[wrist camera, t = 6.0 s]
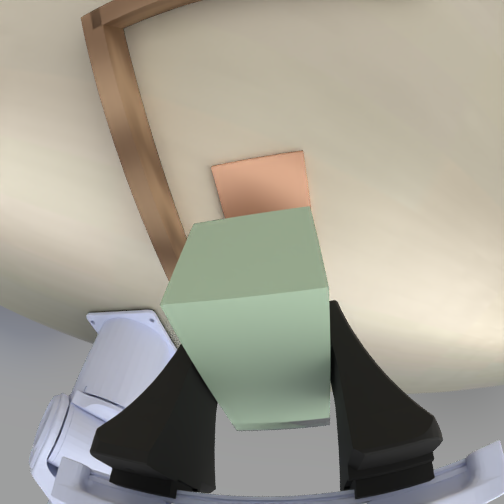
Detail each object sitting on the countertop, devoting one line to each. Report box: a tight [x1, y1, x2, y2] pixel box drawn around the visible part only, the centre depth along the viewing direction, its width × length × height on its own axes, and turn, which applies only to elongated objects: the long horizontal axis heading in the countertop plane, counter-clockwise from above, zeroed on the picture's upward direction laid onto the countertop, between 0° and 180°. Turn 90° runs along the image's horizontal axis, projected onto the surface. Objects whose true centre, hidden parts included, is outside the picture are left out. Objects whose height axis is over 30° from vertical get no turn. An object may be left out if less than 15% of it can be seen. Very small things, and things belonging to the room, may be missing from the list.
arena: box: [81, 0, 311, 281], centre depth 15 cm, size 21×19×2 cm
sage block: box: [160, 206, 330, 431], centre depth 12 cm, size 5×9×4 cm, turn 12°
